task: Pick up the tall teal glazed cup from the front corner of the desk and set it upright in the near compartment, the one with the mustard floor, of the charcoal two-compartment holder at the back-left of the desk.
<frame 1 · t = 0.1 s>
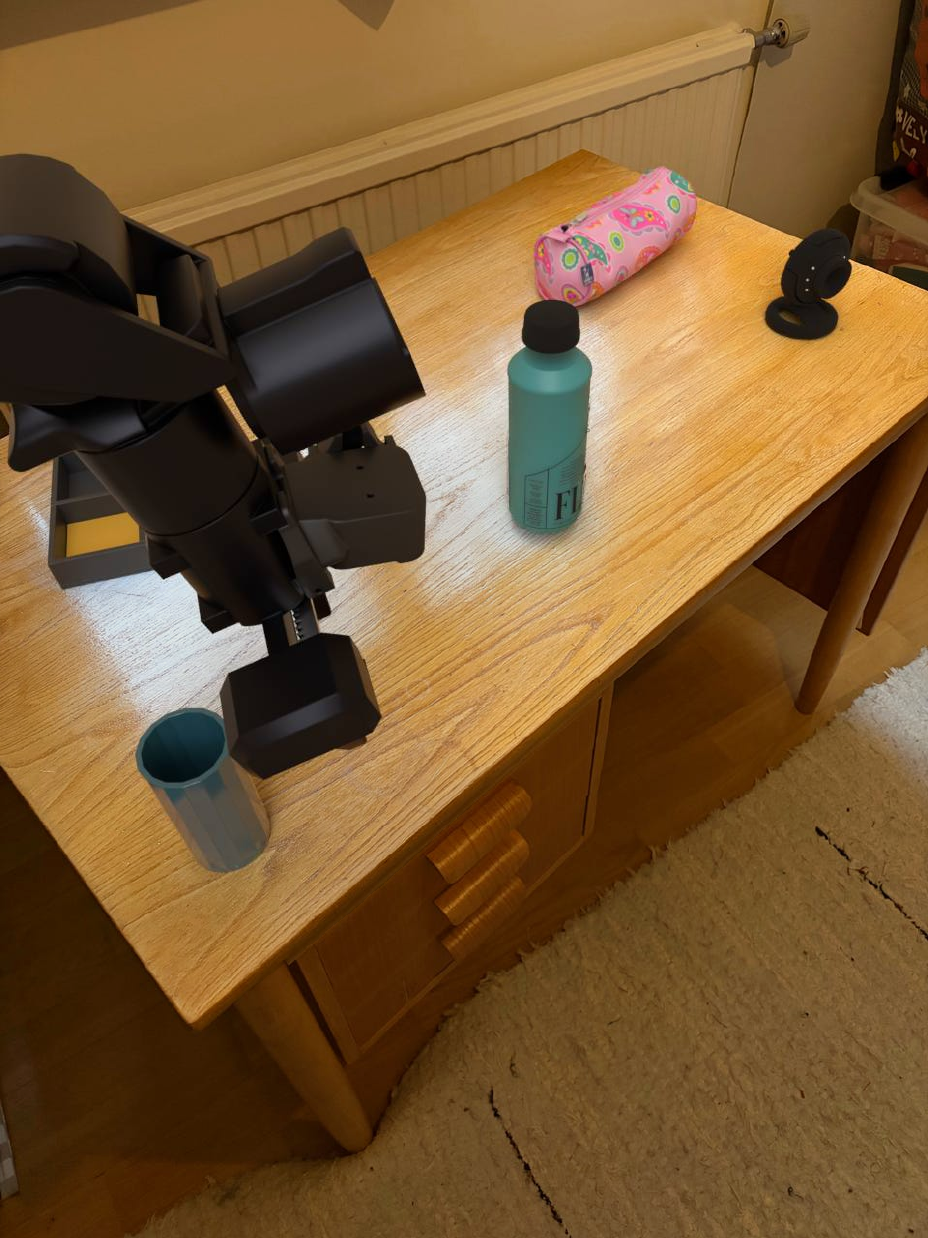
hand: (339, 676, 48), 14 cm above the table, tool pointing down, fingers open, 9 cm apart
cup: (230, 834, 58), on the table
beverage bottle: (543, 523, 76), on the table
holder: (108, 519, 78), on the table
pencil case: (611, 274, 102), on the table
webcam: (799, 323, 94), on the table
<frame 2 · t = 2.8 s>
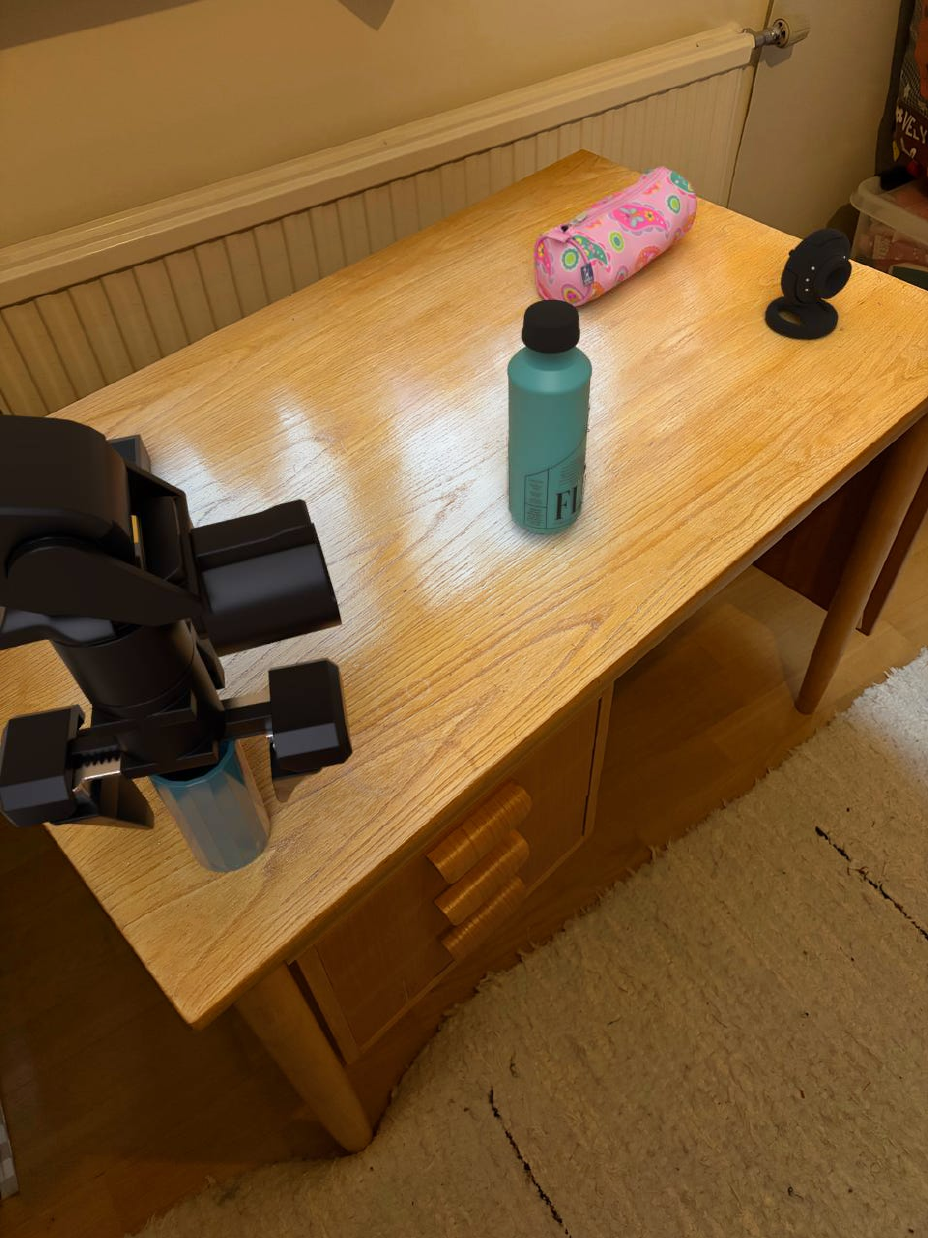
hand: (218, 809, 55), 3 cm above the table, tool pointing down
cup: (230, 834, 58), on the table, touching gripper
everything else where it was.
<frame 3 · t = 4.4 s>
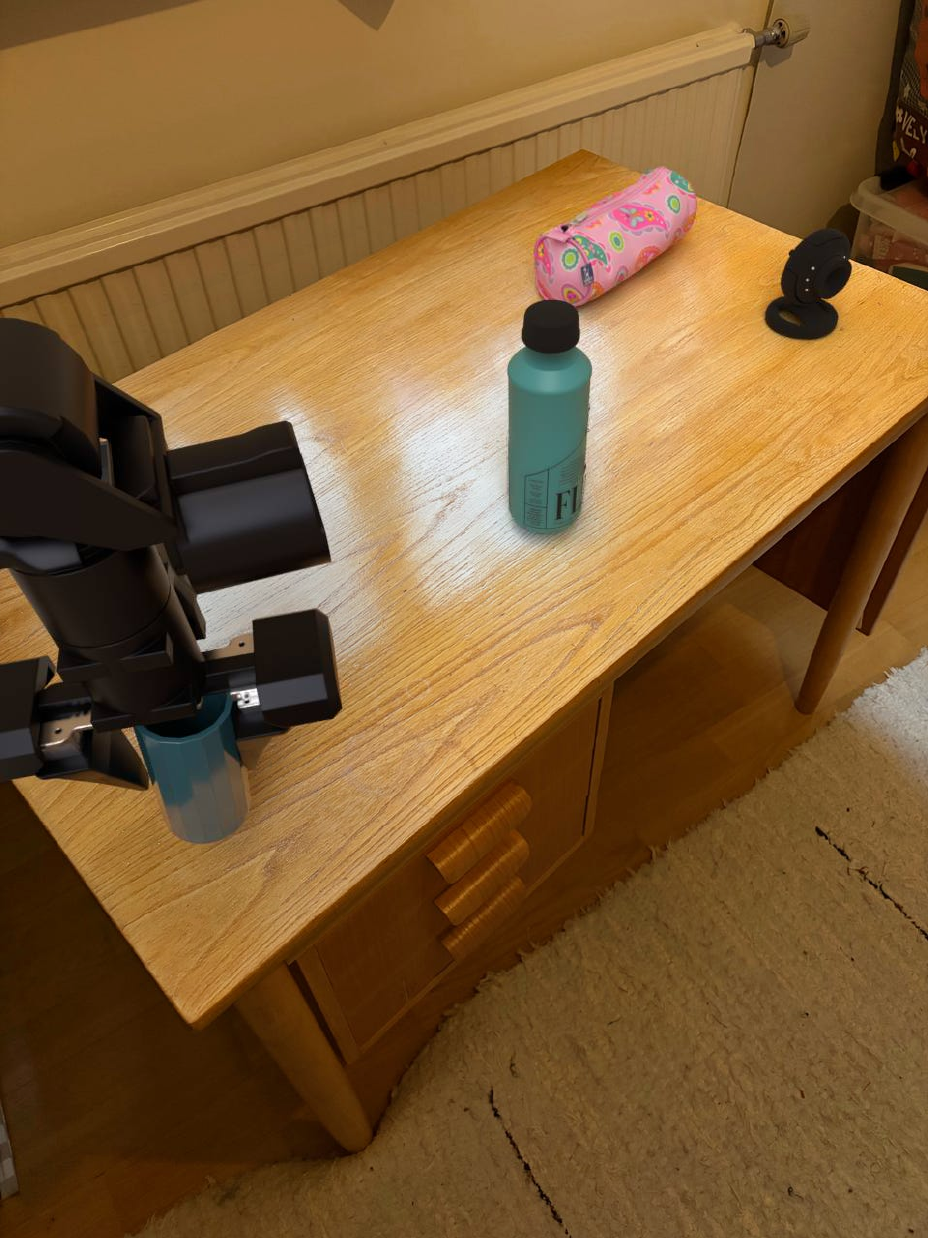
hand: (199, 773, 52), 8 cm above the table, tool pointing down, fingers closed on cup, 6 cm apart
cup: (207, 805, 55), point 4 cm above the table, tilted 8°, touching gripper
everything else where it was.
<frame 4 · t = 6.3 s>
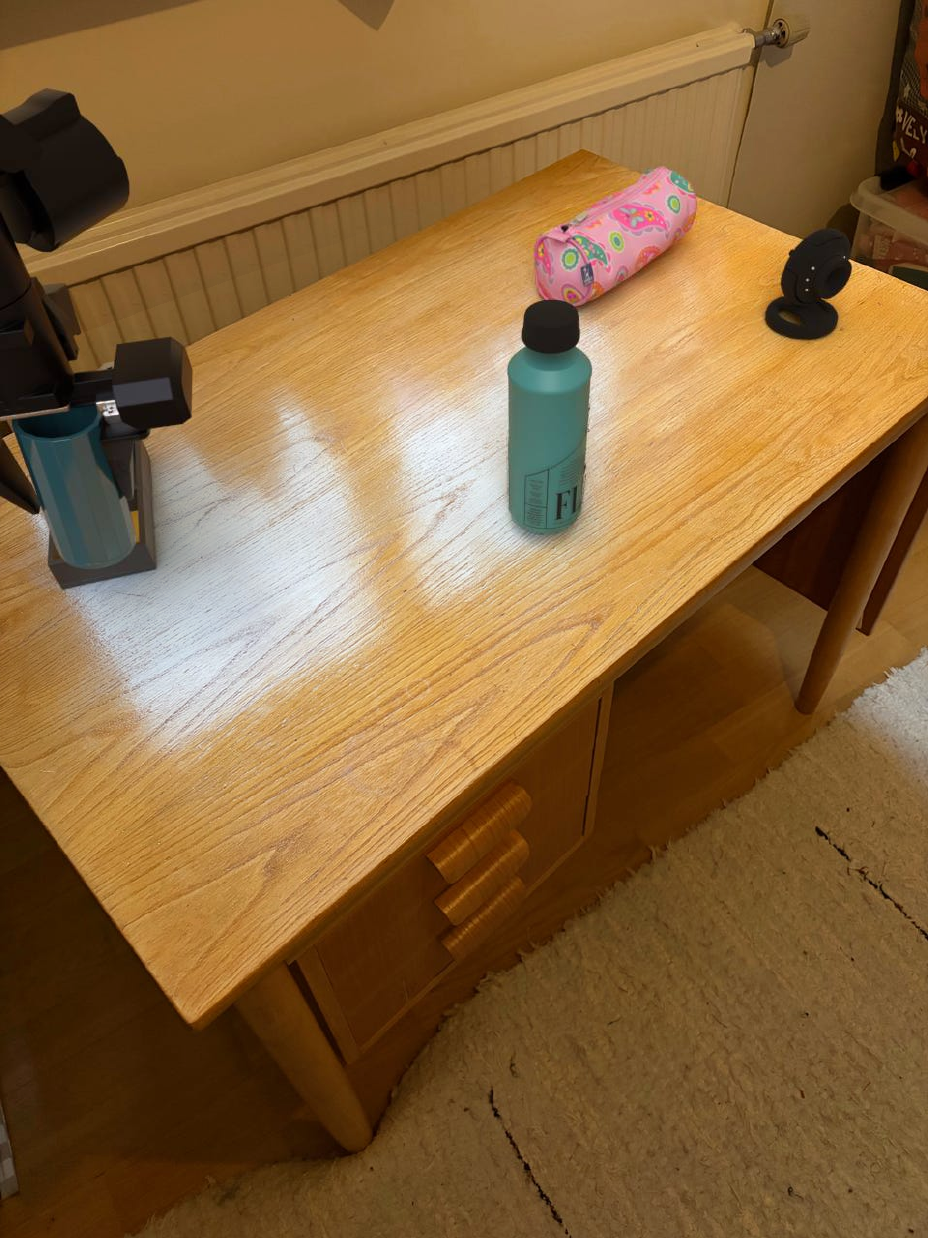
hand: (84, 502, 60), 13 cm above the table, tool pointing down, fingers closed on cup, 6 cm apart
cup: (97, 542, 63), point 10 cm above the table, tilted 7°, touching gripper
everything else where it was.
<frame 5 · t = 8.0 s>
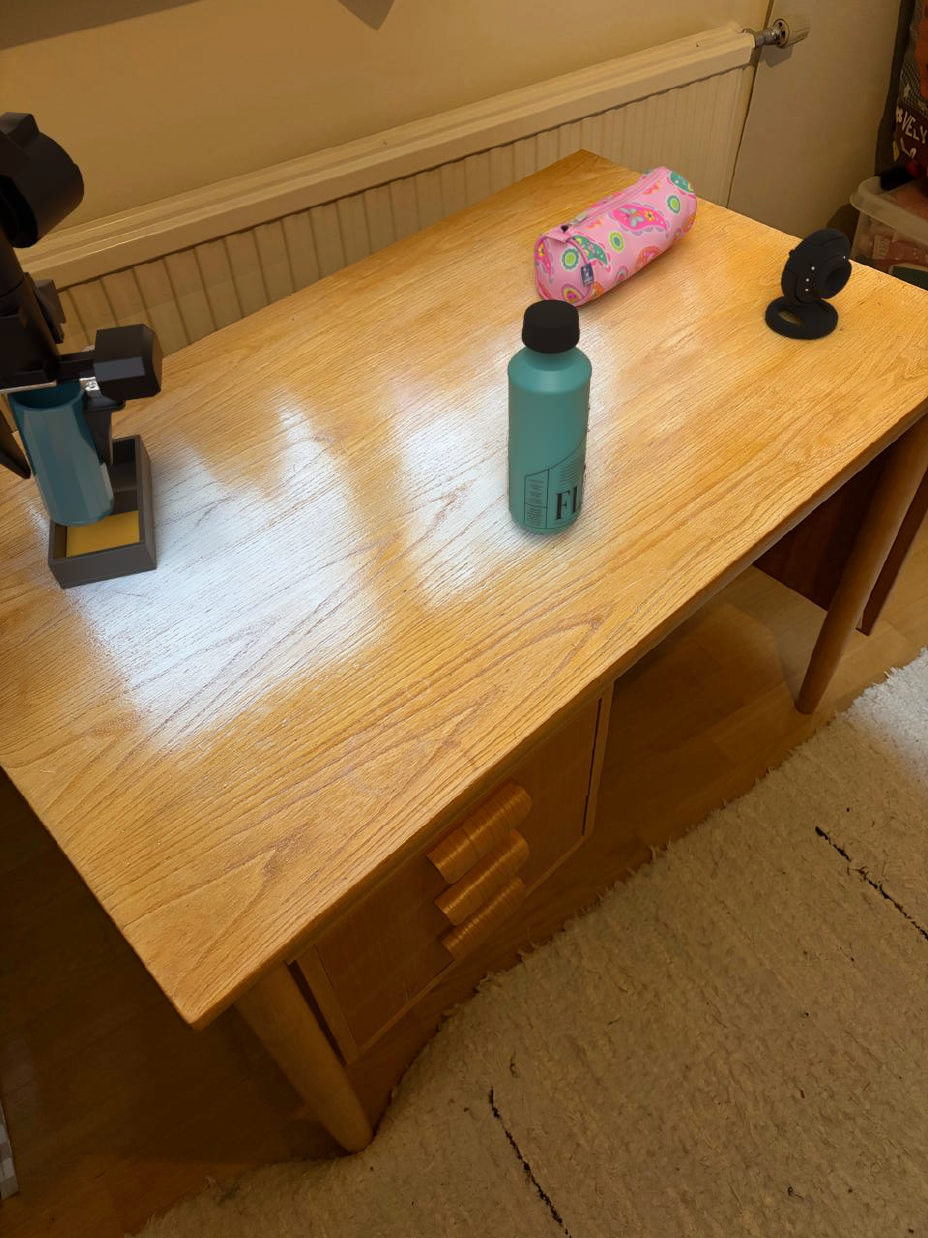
hand: (69, 469, 69), 9 cm above the table, tool pointing down, fingers closed on cup, 6 cm apart
cup: (81, 505, 72), point 5 cm above the table, tilted 8°, touching gripper
everything else where it was.
when the fingers open (5 cm above the table, at t = 9.5 s): cup stays where it is, resting on holder.
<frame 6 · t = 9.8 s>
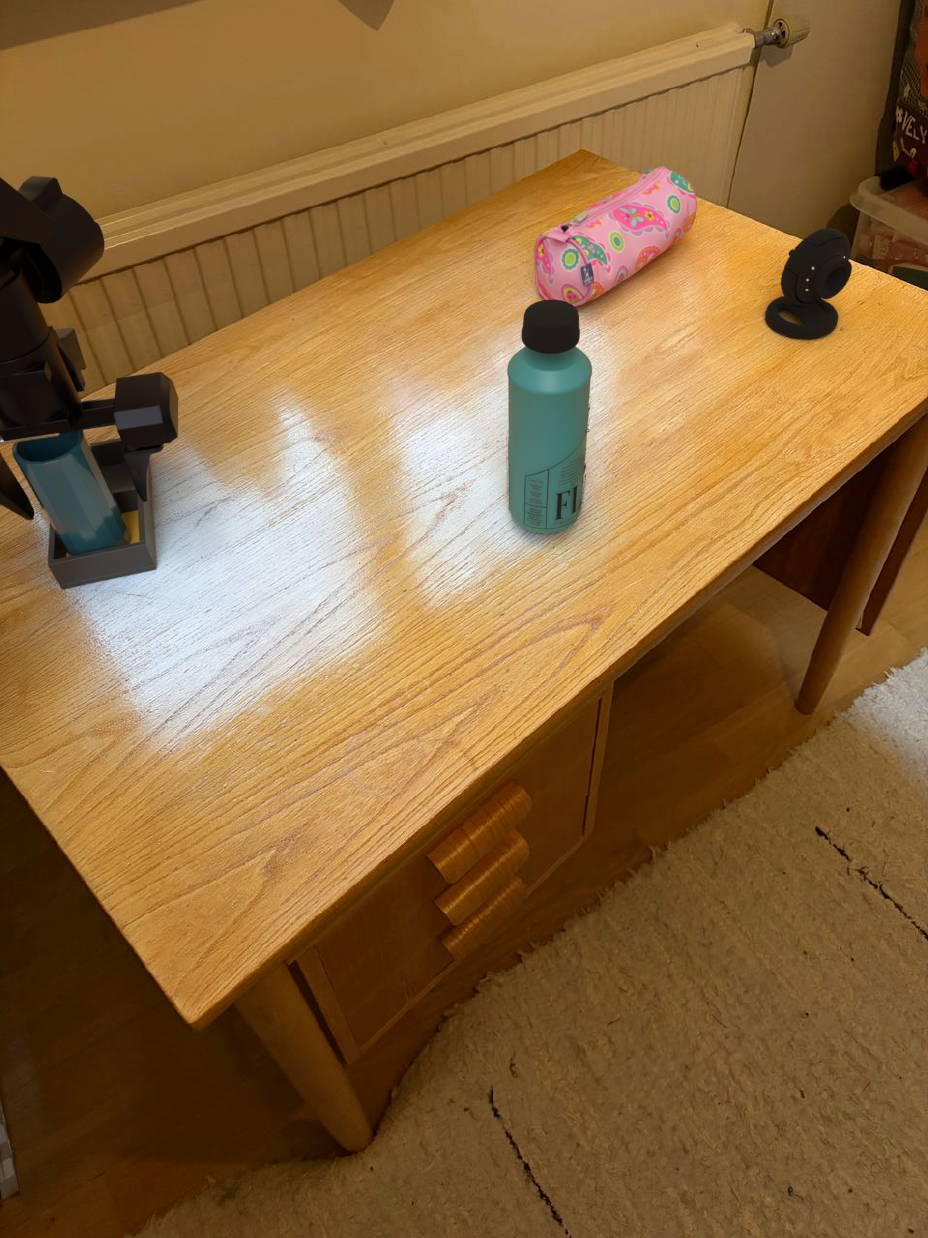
hand: (89, 507, 72), 5 cm above the table, tool pointing down, fingers open, 9 cm apart
cup: (100, 543, 75), point 1 cm above the table, touching holder
everything else where it was.
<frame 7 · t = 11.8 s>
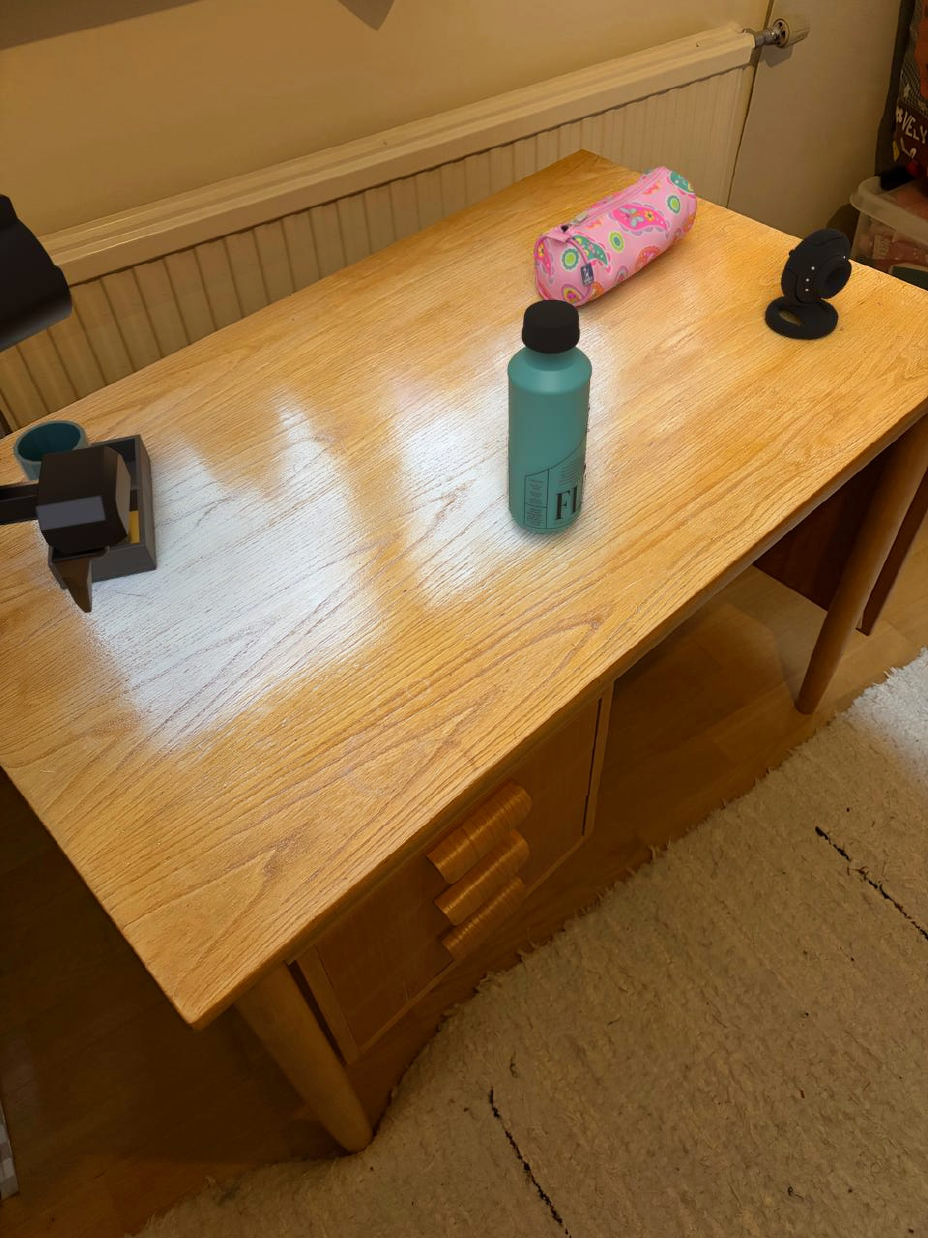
hand: (12, 621, 54), 13 cm above the table, tool pointing down, fingers open, 9 cm apart
nothing on the table moved.
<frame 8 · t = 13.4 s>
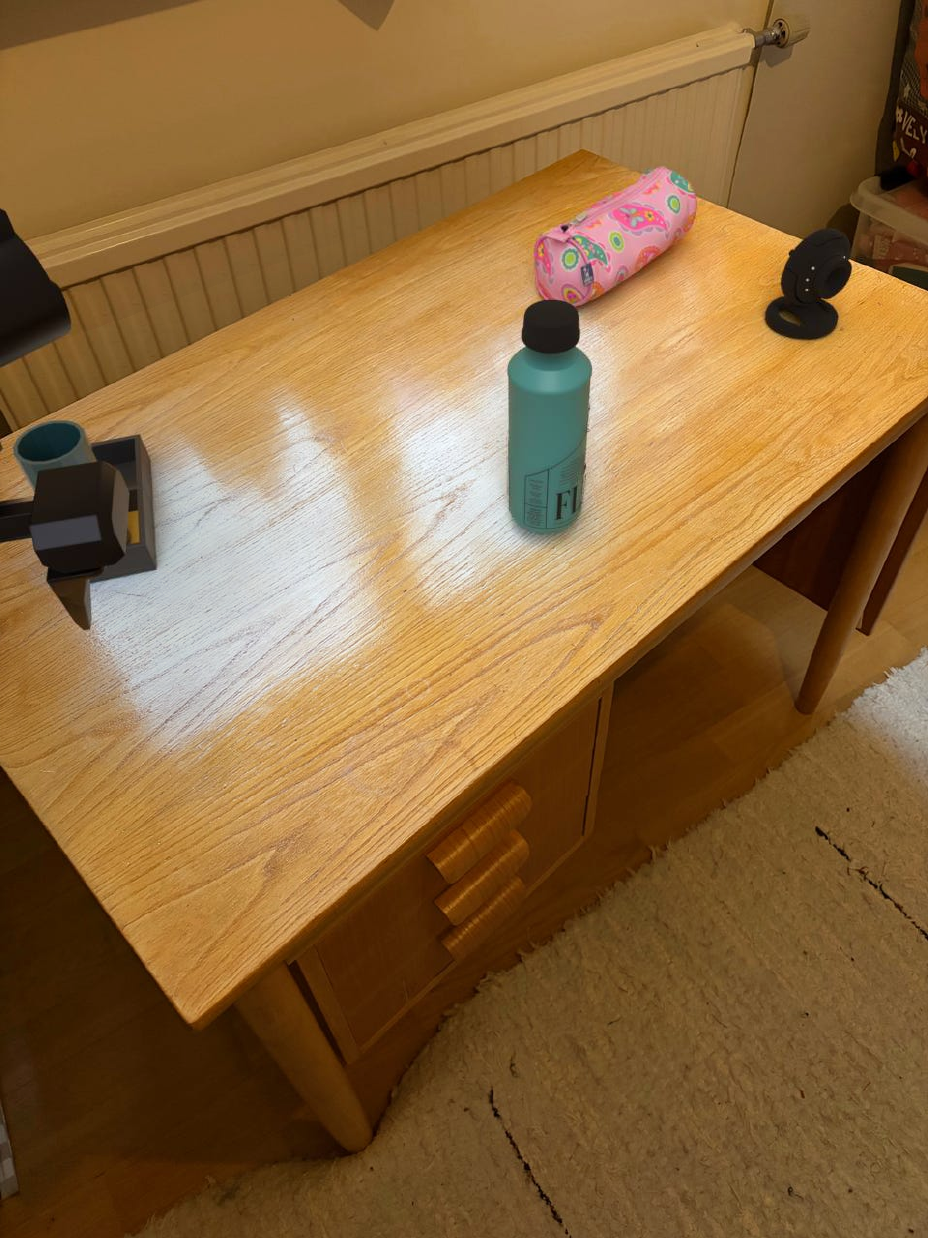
hand: (9, 637, 53), 13 cm above the table, tool pointing down, fingers open, 9 cm apart
nothing on the table moved.
at the end: cup 0.5 cm from the target spot in the holder, point 0.7 cm above the holder's base; cup tilted 0°; the gripper is holding nothing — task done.
